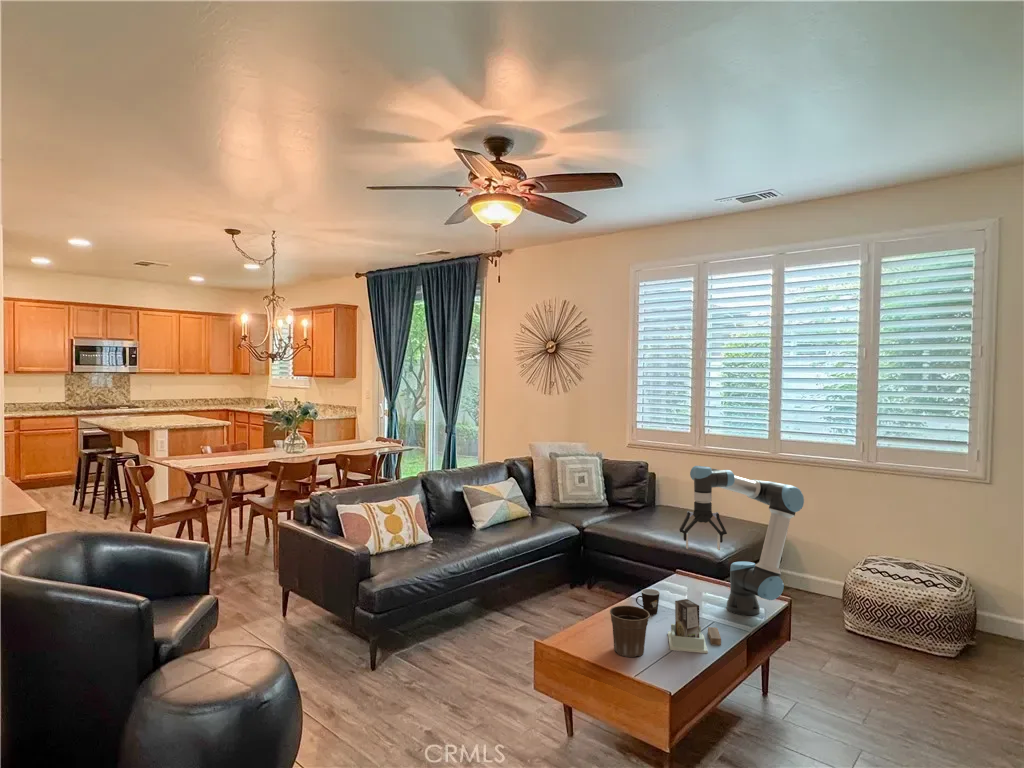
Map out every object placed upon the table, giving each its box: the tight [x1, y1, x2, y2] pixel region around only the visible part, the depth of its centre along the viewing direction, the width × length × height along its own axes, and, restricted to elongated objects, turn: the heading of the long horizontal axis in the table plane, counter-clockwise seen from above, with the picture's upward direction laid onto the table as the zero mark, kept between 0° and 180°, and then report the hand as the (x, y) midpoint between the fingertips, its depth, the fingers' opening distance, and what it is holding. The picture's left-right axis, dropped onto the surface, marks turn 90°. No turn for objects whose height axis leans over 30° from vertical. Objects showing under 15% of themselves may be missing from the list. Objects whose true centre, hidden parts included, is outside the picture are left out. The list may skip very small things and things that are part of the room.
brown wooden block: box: [707, 626, 722, 646], centre depth 263 cm, size 4×12×3 cm, turn 168°
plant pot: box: [609, 605, 651, 658], centre depth 251 cm, size 16×16×16 cm
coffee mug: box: [635, 588, 660, 616], centre depth 293 cm, size 12×9×10 cm
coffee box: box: [674, 598, 700, 638], centre depth 259 cm, size 9×6×16 cm
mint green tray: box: [667, 623, 709, 654], centre depth 259 cm, size 15×17×5 cm
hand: (702, 548), depth 272 cm, fingers open, 13 cm apart
